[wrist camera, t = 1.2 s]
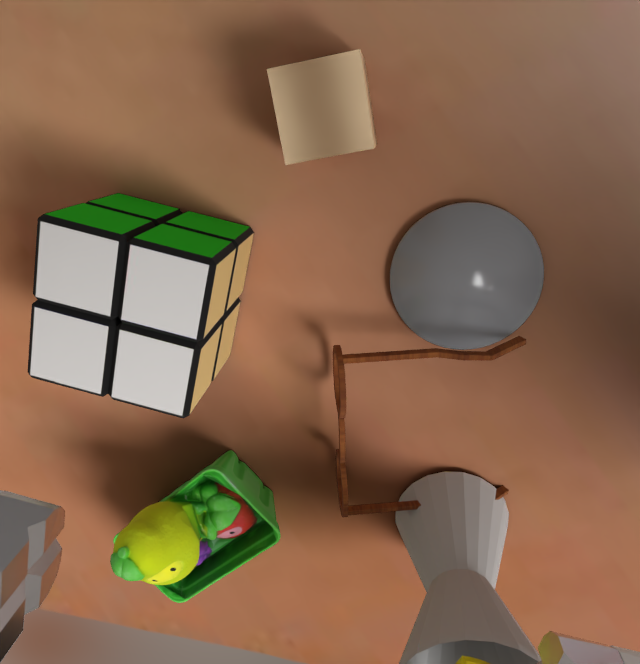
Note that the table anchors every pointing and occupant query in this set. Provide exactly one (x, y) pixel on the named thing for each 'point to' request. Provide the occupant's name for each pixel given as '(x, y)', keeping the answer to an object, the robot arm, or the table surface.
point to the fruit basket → (199, 531)
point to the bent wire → (341, 408)
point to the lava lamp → (460, 574)
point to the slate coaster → (466, 275)
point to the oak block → (323, 107)
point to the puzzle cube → (136, 300)
